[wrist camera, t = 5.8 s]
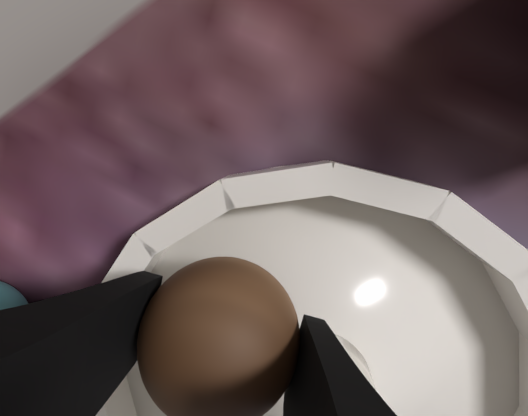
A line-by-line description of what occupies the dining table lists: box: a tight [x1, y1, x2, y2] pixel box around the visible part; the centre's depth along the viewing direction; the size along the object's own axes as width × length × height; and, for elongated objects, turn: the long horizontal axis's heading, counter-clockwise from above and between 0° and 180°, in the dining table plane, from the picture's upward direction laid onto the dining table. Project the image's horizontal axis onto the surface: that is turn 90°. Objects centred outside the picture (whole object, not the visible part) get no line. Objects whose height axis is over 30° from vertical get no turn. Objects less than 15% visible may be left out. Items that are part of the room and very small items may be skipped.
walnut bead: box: [137, 256, 300, 416], centre depth 9 cm, size 4×4×4 cm
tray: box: [96, 160, 528, 416], centre depth 12 cm, size 18×18×2 cm
